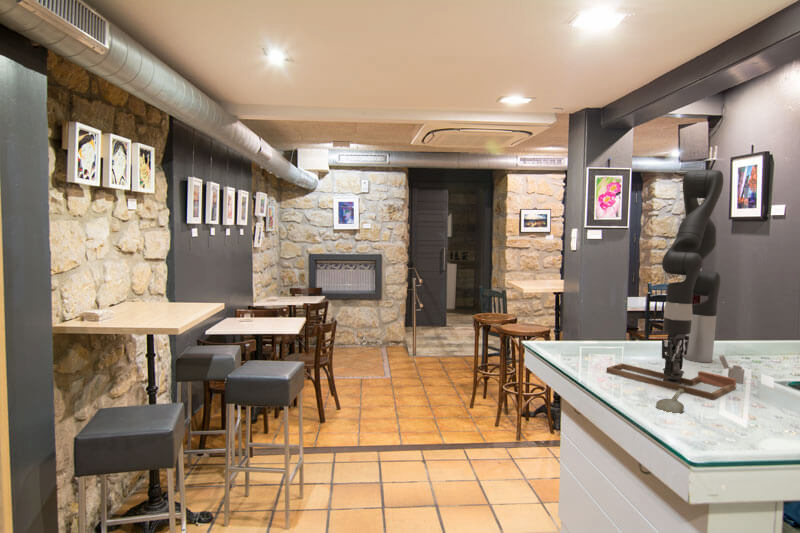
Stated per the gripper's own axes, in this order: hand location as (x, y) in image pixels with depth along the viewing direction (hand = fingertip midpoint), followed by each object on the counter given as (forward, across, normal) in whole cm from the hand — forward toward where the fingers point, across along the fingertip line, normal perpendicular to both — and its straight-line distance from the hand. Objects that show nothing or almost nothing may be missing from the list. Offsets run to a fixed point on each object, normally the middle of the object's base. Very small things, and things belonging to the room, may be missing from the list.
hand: (673, 370), depth 157 cm
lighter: (+5, -21, +9) cm, 23 cm away
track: (+4, -4, -3) cm, 7 cm away
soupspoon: (+5, +16, +7) cm, 18 cm away
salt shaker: (+4, 0, 0) cm, 4 cm away
